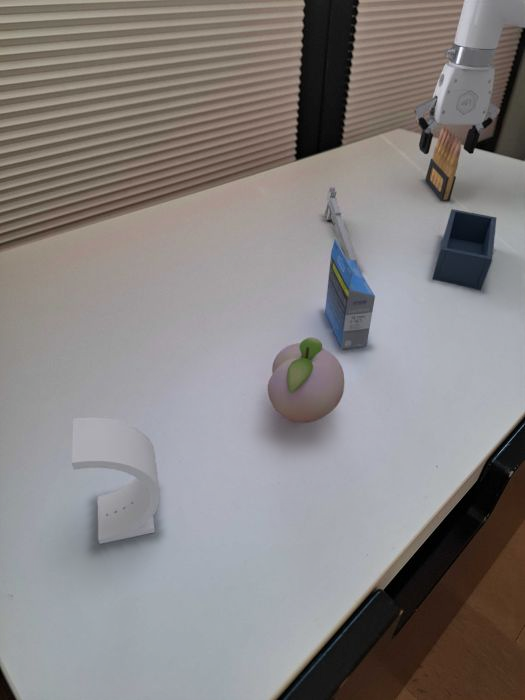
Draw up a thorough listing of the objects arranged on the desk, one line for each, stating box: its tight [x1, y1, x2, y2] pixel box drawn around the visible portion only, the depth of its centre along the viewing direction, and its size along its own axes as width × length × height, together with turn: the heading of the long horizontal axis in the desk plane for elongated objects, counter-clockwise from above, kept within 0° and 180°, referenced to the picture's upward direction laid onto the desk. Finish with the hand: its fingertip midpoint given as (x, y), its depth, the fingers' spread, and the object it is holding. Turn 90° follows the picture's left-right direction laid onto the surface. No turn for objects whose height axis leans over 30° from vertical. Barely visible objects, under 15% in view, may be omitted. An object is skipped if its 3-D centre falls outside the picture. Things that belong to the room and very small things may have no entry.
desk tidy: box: [431, 208, 497, 291], centre depth 85 cm, size 8×16×6 cm, turn 158°
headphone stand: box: [71, 416, 161, 545], centre depth 45 cm, size 5×6×12 cm
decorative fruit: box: [267, 337, 345, 424], centre depth 56 cm, size 9×8×10 cm
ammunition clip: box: [424, 125, 462, 202], centre depth 106 cm, size 11×2×12 cm, turn 4°
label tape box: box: [324, 236, 376, 350], centre depth 68 cm, size 9×4×12 cm, turn 9°
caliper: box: [324, 187, 359, 268], centre depth 89 cm, size 20×1×6 cm, turn 8°
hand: (445, 151), depth 104 cm, fingers open, 9 cm apart
